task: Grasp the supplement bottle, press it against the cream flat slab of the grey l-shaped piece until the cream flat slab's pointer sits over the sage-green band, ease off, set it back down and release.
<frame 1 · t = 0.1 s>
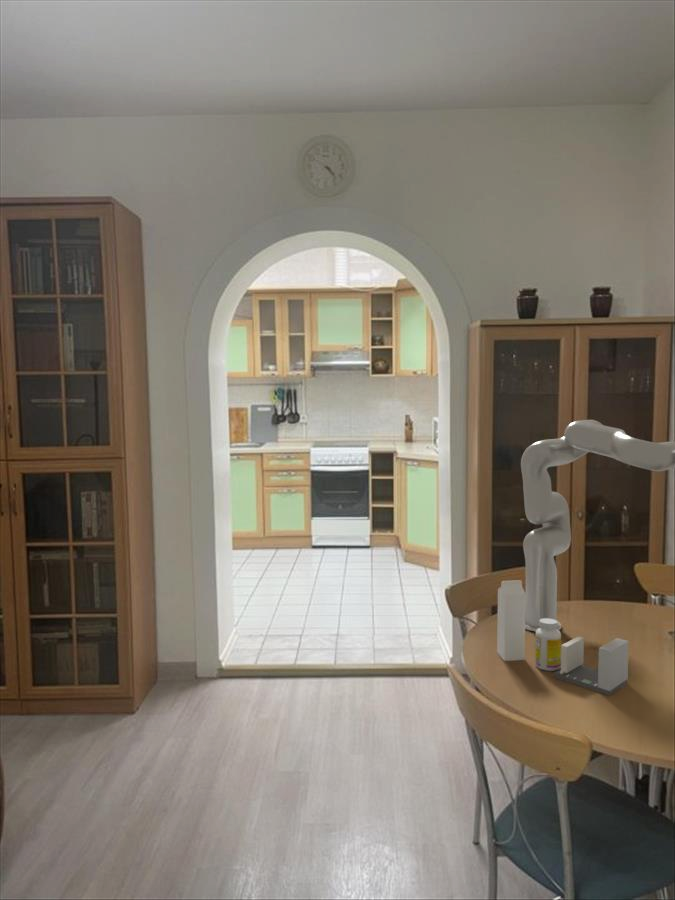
milk: (510, 657, 189), on the table
supplement bottle: (547, 667, 181), on the table
cream flat slab: (571, 655, 175), point 6 cm above the table, slide at 0.0 cm
grey l-shaped piece: (590, 680, 173), on the table
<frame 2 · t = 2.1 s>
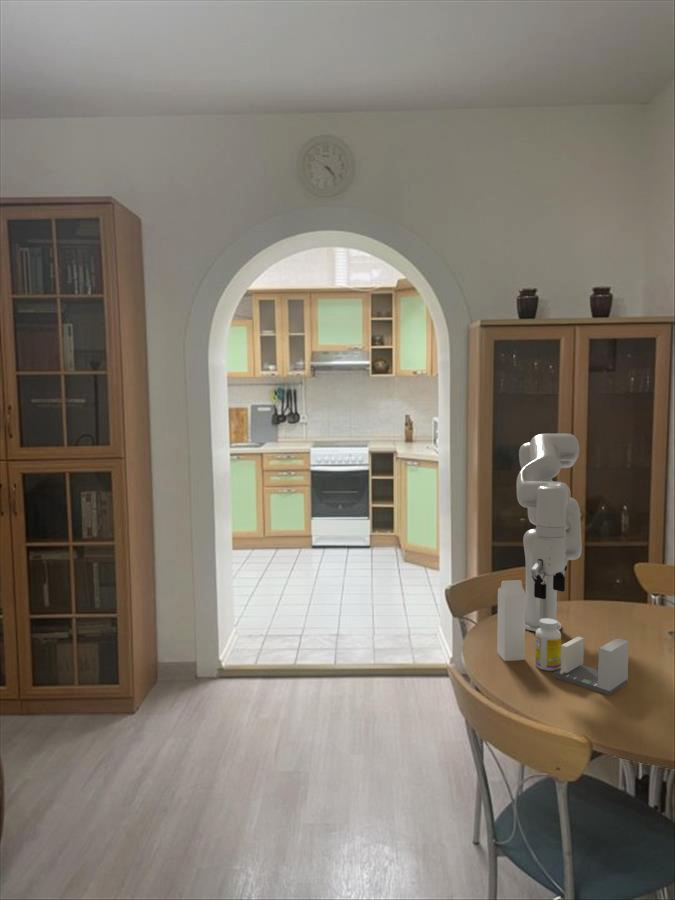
hand: (549, 594, 180), 20 cm above the table, tool pointing down, fingers open, 9 cm apart
nothing on the table moved.
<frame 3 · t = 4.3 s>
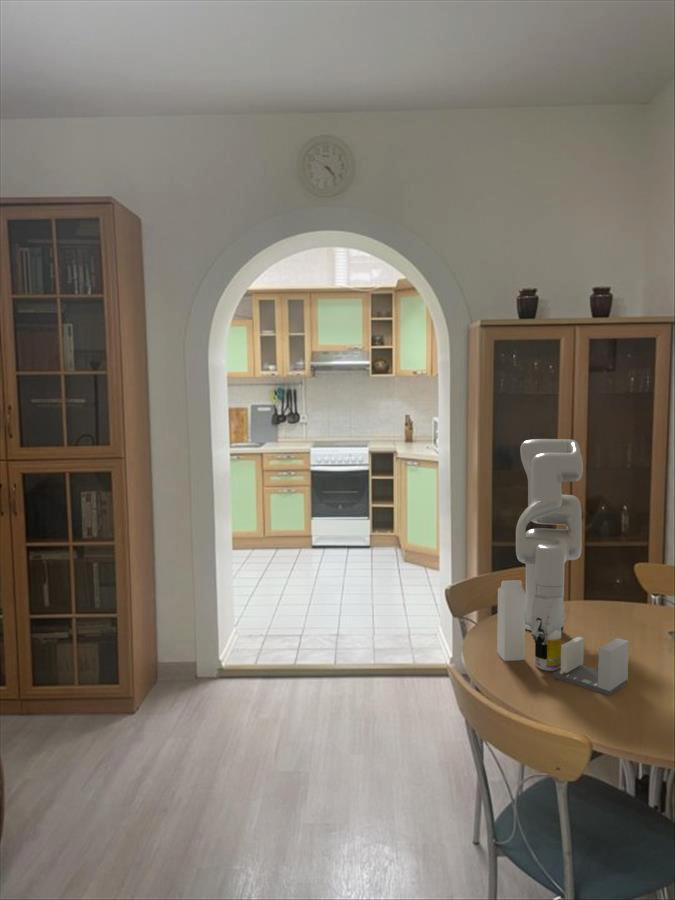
hand: (548, 653, 181), 4 cm above the table, tool pointing down, fingers closed on supplement bottle, 6 cm apart
supplement bottle: (547, 667, 181), on the table, touching gripper
everything else where it was.
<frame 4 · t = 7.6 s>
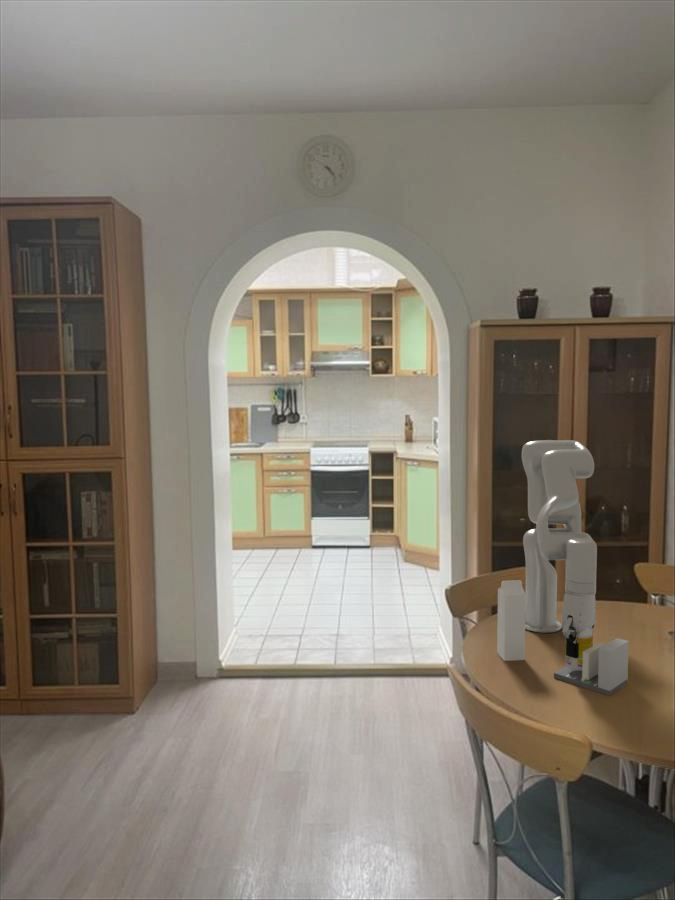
hand: (579, 652, 174), 7 cm above the table, tool pointing down, fingers closed on supplement bottle, 6 cm apart
supplement bottle: (578, 666, 175), point 3 cm above the table, touching gripper, cream flat slab
cream flat slab: (592, 661, 171), point 6 cm above the table, slide at 5.9 cm, touching supplement bottle
everything else where it was.
when the fingers open (5 cm above the table, at t = 11.0 s): supplement bottle stays where it is, on the table.
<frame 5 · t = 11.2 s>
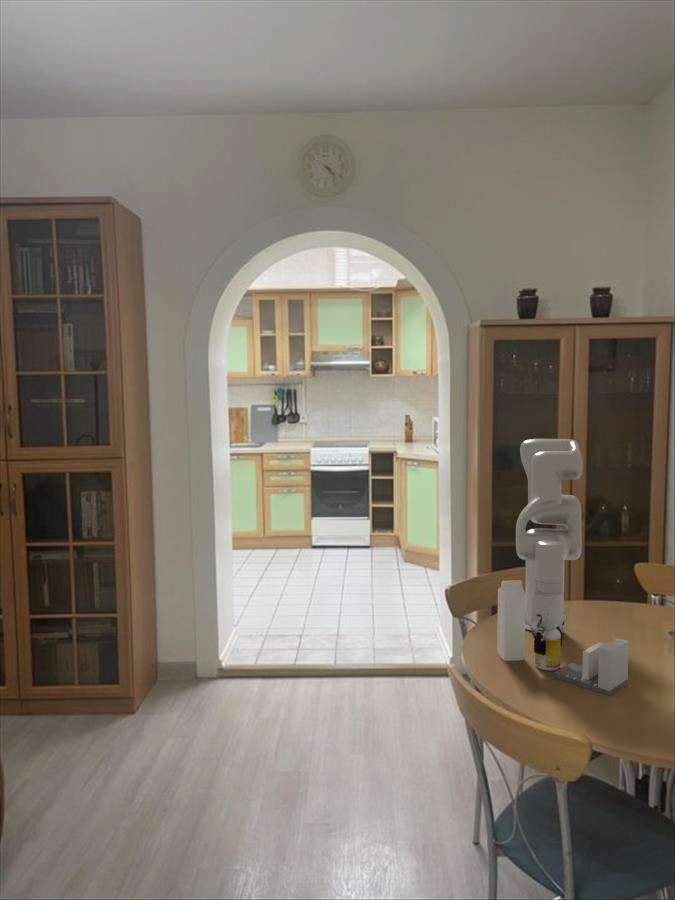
hand: (548, 649, 181), 5 cm above the table, tool pointing down, fingers open, 8 cm apart
supplement bottle: (547, 667, 181), on the table
cream flat slab: (592, 661, 171), point 6 cm above the table, slide at 5.9 cm
everything else where it was.
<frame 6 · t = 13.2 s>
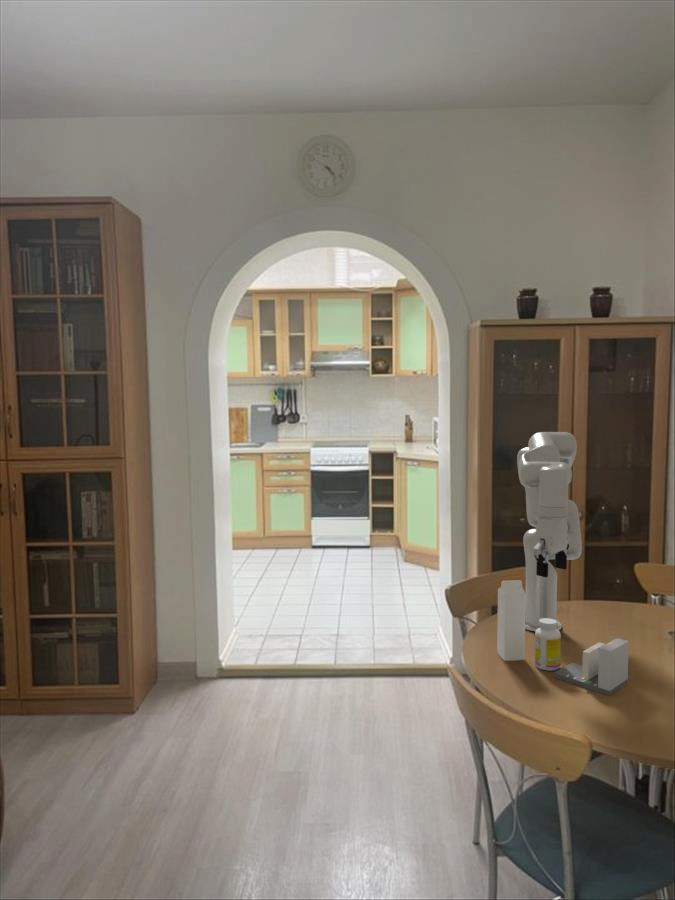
hand: (551, 572, 184), 25 cm above the table, tool pointing down, fingers open, 9 cm apart
nothing on the table moved.
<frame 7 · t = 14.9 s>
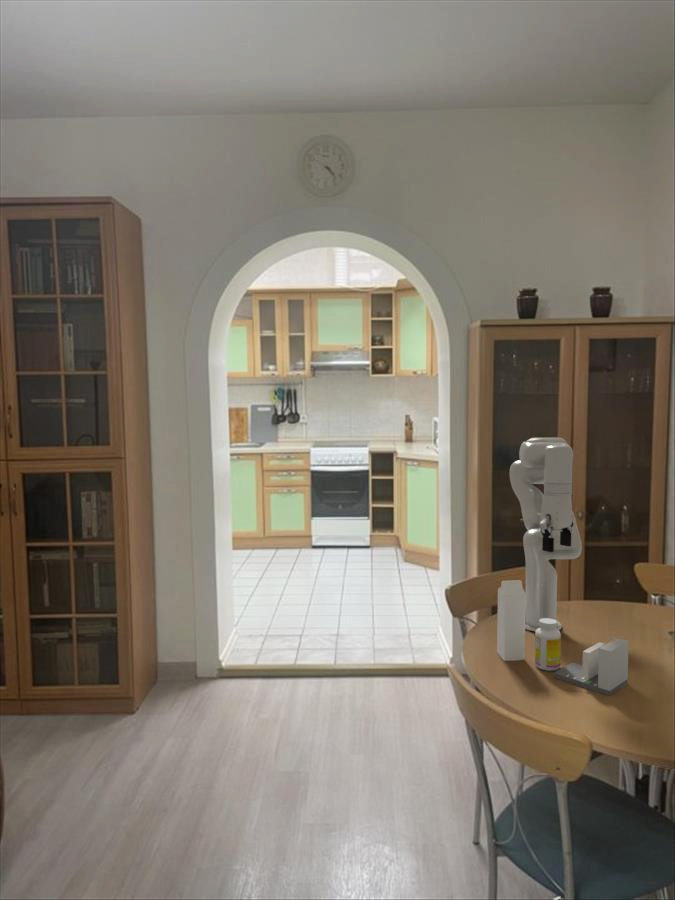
hand: (556, 548, 189), 30 cm above the table, tool pointing down, fingers open, 9 cm apart
nothing on the table moved.
at the end: cream flat slab slide at 5.9 cm; supplement bottle tilted 0°; the gripper is holding nothing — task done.
